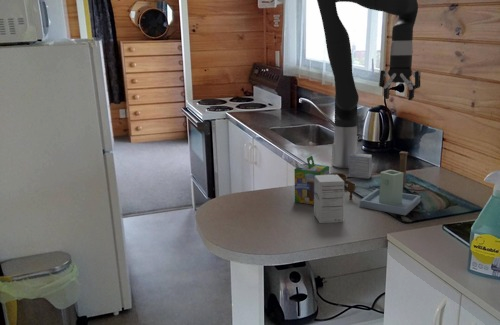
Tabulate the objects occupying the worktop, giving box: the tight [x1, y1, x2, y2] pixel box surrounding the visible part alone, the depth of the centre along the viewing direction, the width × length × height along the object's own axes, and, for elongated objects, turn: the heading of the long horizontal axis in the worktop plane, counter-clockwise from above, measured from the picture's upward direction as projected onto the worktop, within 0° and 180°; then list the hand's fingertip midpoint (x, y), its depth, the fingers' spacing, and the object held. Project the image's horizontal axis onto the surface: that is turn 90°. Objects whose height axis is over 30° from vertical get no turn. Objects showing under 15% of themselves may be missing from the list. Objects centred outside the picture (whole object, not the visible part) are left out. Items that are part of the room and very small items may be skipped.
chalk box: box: [294, 155, 330, 206], centre depth 155 cm, size 9×9×15 cm
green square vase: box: [379, 169, 404, 206], centre depth 150 cm, size 5×6×10 cm
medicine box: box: [348, 153, 373, 180], centre depth 182 cm, size 8×4×9 cm, turn 65°
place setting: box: [329, 172, 356, 201], centre depth 166 cm, size 18×20×6 cm
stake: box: [398, 151, 409, 189], centre depth 167 cm, size 2×2×13 cm
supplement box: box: [313, 175, 345, 224], centre depth 139 cm, size 7×7×13 cm
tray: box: [359, 188, 422, 216], centre depth 151 cm, size 15×15×2 cm
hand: (398, 99), depth 172 cm, fingers open, 8 cm apart
